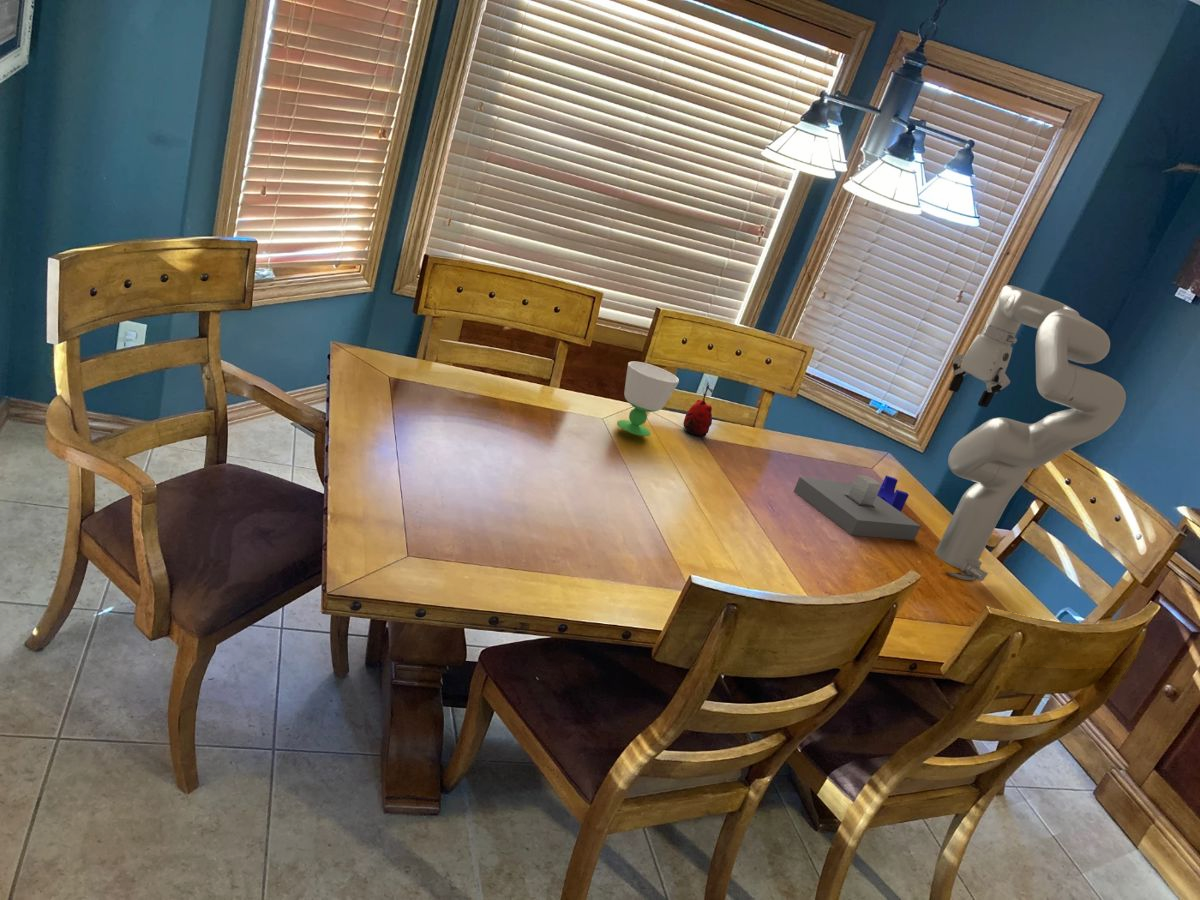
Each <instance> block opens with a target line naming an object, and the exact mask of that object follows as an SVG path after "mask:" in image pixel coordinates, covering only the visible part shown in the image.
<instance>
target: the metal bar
mask: <svg viewBox="0 0 1200 900" xmlns="http://www.w3.org/2000/svg"><path fill="white" fill-rule="evenodd" d="M853 483H854V484H853V486H852V488H851V491H850V493H849V495H848V497H847V498H849V499H850V500H851V501H853V502H854V503H856V504H857V505H858V506H864V507H872V505H873V503H874V501H875V499H876V497H877V494H878V492H879V490H880V488H881V486H882V483H880V482H879V481H877V480H875V478H873V477H871V476H868V475H861V474H857V475H856V477H855V480H854V481H853Z"/></svg>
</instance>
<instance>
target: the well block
mask: <svg viewBox="0 0 1200 900" xmlns="http://www.w3.org/2000/svg"><path fill="white" fill-rule="evenodd" d="M853 484H854V482H853V483H851V482H846V481H845V482H843V481H837V480H836V481H835V480H829V479H828V480H827V479H820V478H819V479H818V478H811V477H802V476H799V478H798V479H797V482H796V485H795V487H794V489H793V492H794V493H795V494H797V495H798V496H800V498H802V499H803V500H804V501H806V502H807V503H808V504H810V505H811V506H813V507H814V508H815V509H816V510H817V511H819V512H820V513H822V514H823V516H825V517H827V518H828V519H829V520H831V521H832V522H833V523H834V524H835V525H837V526H838V527H840V528H841V529H842V530H844V532H846V533H847V534H849V535H851V536H857V537H869V538H871V537H872V538H883V539H895V540H905V541H907V540H908V541H915V539H916V537H917V535H918V532H919V531H920V529H921V527H922V525H920V523H918V522H916V521H915V520H913V519H912V518H910V517H909V516H907V515H906V514H904V513H903V512H902V511H901V512H900V511H899V510H897V509H896V508H894V507H893V506H892V505H890V504H889V503H887V502H886V501H884V500H883V499H881V498H880V497H879V496H877V497H876V499H875V501H874V503H873V505H872V507H864V506H858V505H857V504H856V503H854V502H853V501H851V500H850V499H849V498H847V497H848V495H849V493H850V491H851V488H852V486H853Z"/></svg>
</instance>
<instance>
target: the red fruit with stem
mask: <svg viewBox="0 0 1200 900" xmlns="http://www.w3.org/2000/svg"><path fill="white" fill-rule="evenodd" d="M706 384H707V385H706V386H705V392H704V393H703V398H702V399H697V400H696V402H695V403H694V404H692V405H691V406H690V408H689V409H688V410H687V412H686V414H685V415H684V416H685V417H684V419H683V422H682V423H683V428H684V430H685V429H686V430H685V431H686V432H688V433H689V434H692V433H693V434H692V435H694V434H696V436H698V435H699V436H698V437H706V436H707V434H708V433H709V430H710V428H711V426H712V424H713V417H712V416H713V415H712V414H713V413H712V410H713V408H712V405H709V404H708V403H706V396H707V394H708V393H707V392H708V390H709V391H710V393H712V394H713V392H714V389H712V388H710V385H709V381H707V383H706Z"/></svg>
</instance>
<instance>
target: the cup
mask: <svg viewBox="0 0 1200 900" xmlns="http://www.w3.org/2000/svg"><path fill="white" fill-rule="evenodd" d="M625 376H626V377H625V385H624V393H623V394H624V398H625V400H626V401H627V403H629V405H631V406H632V407H633V408H632V409H631V410H630V412H629V415H628V418H629V420H617V423H616V424H617V425H618V427H619V428H620V429H622V430H624V431H626V432H627V433H629V434H633V435H636V436H641V437H648V436H650V435H651V431H650V430H649V429H648V428H646V427H645V426H644V425H643V424H645V422H646V421H647V419H648V418H647V416H648V415H647V413H648V412H649V413H651V412H655V413H656V412H658V411H660V410H662V409H663V408H665V406H666V404H667V403H668V401H669V399H670V397H671V396H672V395H673V393H674V391H675V390H676V387H677V386H678V384H679V383H680V379H679V377H677V376H676V375H675V374H674V373H671V372H670V371H669V370H666V369H663V368H661V367H659V366H656V365H653V364H650V363H647V362H642V361H633V360H632V361H629V362H627V370H626V375H625Z"/></svg>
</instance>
